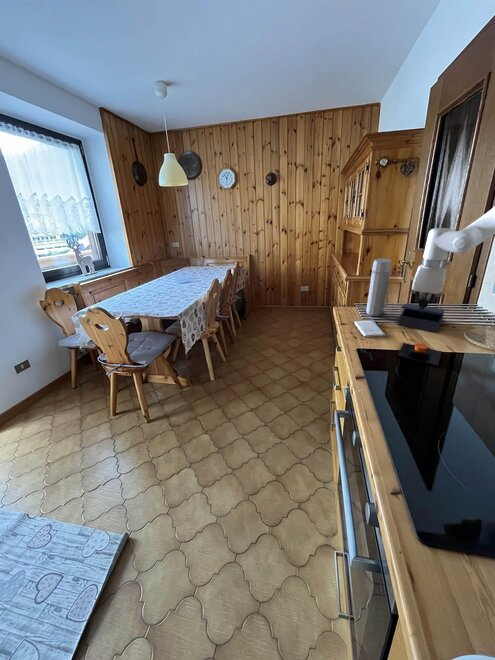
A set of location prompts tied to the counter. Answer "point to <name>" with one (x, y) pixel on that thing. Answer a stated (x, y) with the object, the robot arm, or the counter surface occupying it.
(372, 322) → the hard drive
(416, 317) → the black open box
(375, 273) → the water bottle
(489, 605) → the counter surface
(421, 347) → the button
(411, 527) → the counter surface
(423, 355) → the switch block
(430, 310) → the cover
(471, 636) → the counter surface
